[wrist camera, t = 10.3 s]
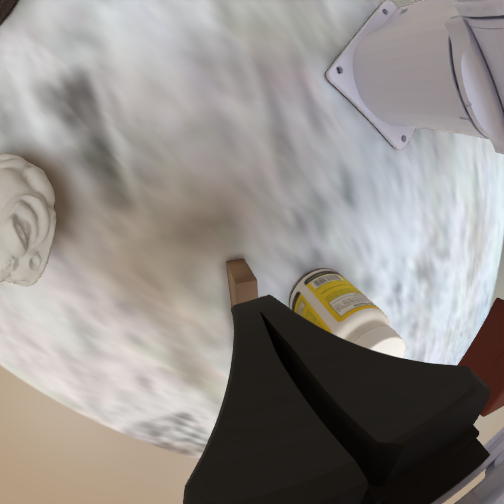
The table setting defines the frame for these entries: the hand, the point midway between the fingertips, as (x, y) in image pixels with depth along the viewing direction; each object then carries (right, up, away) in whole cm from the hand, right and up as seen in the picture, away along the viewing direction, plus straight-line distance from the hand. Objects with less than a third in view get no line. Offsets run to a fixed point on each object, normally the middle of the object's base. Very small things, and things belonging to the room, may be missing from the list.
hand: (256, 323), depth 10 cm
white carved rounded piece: (-13, +6, +5) cm, 15 cm away
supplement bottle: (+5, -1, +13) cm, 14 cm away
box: (+42, -14, +30) cm, 53 cm away
